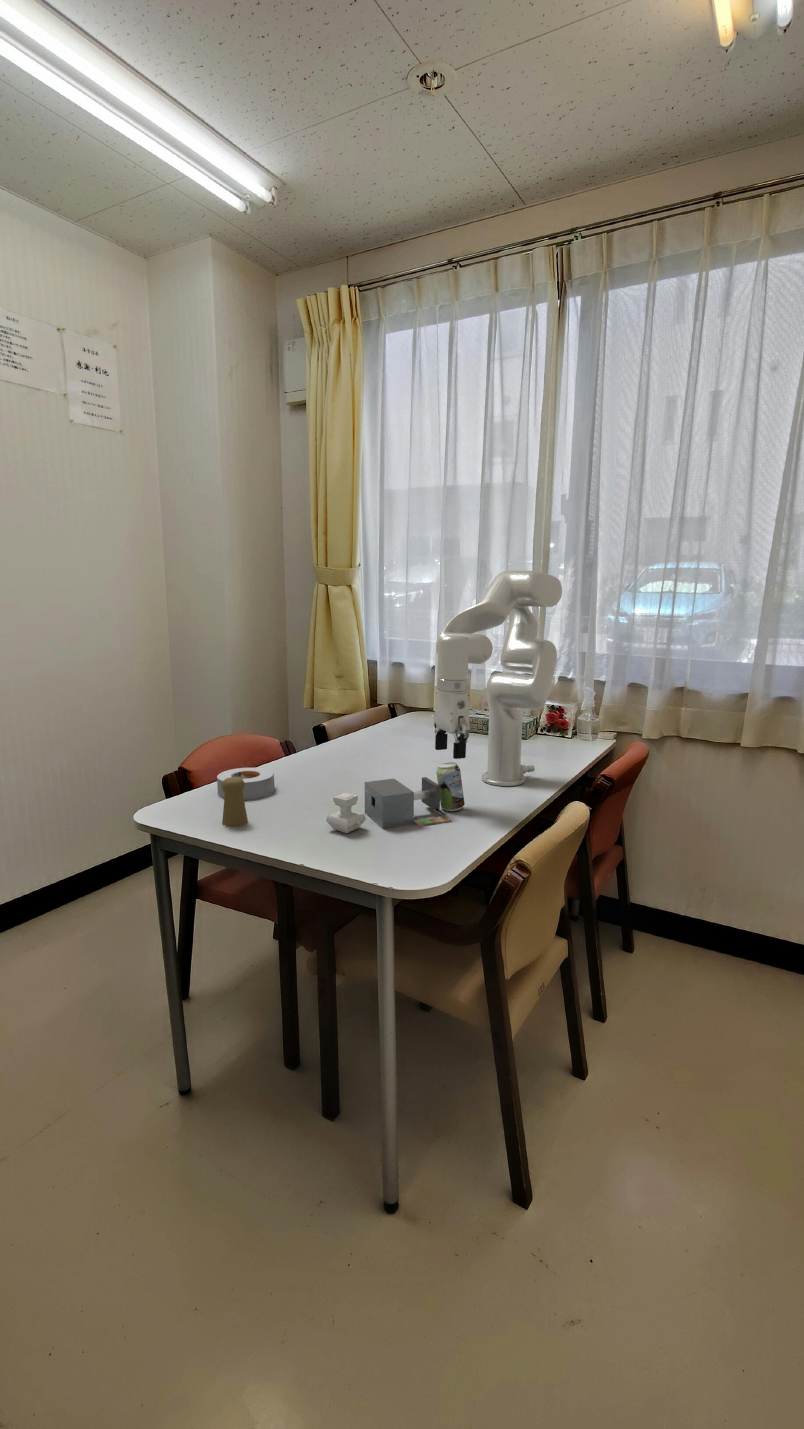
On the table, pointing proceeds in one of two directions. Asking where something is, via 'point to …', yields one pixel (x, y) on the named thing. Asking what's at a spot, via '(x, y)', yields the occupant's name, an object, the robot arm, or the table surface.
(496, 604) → the robot arm
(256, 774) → the tape roll
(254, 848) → the table surface
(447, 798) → the beverage can
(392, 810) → the block
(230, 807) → the cork
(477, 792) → the table surface
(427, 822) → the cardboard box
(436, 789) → the plunger
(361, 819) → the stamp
